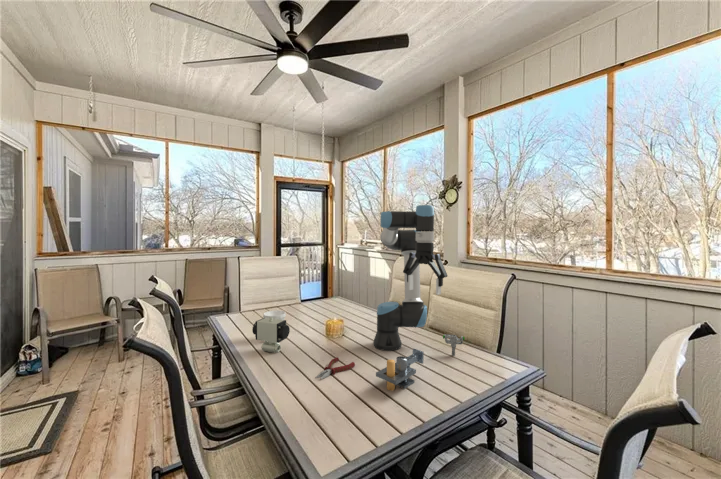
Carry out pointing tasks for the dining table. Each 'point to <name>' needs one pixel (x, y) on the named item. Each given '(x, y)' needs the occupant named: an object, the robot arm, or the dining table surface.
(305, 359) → the dining table surface
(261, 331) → the ball valve
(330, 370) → the pliers
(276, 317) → the cup
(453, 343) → the mechanical component
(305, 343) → the dining table surface
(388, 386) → the orange rounded rod
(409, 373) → the grey toggle clamp
